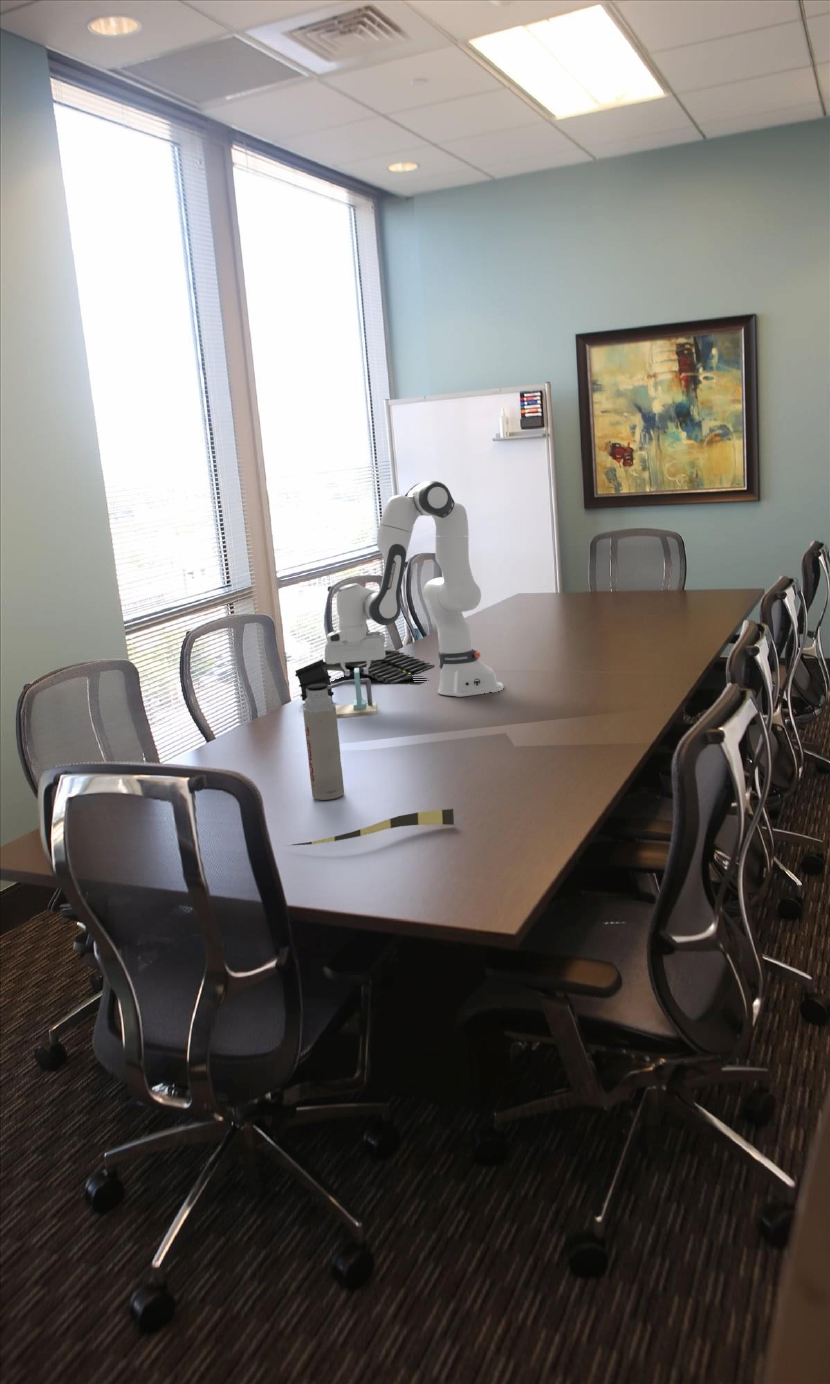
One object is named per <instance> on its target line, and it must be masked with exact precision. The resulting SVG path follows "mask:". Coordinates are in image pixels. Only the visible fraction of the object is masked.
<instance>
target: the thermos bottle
mask: <svg viewBox="0 0 830 1384" xmlns="http://www.w3.org/2000/svg"><path fill="white" fill-rule="evenodd" d="M327 688H328V686H327V684H313V685H309V686H308V687H307V689H308V698H307V699H305V701H304V705H305V707H303V709H302V711H303V722H304V728H305V729H304V731H305V740H306V741H305V742H306V750H307V755H308V756H307V758H308V768H309V769H308V770H309V779H310V787H311V796H312V798H313V799H316V800H323V801H324V800H334V799H337V798H340V797H342V796H343V795H345V786H344V777H343V776H344V775H343V767H342V761H341V760H342V759H341V747H340V737H339V727H338V718H337V715H336V706H337V705H335V704H333V703H334V701H333V696H332V697H331V696H329V695H328V691H327Z"/></svg>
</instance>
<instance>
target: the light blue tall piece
mask: <svg viewBox="0 0 830 1384" xmlns="http://www.w3.org/2000/svg"><path fill="white" fill-rule="evenodd" d="M353 675H354V679H353V680H355V683H354V688H355V697H356V698H353V703H352V704H353V708H354V710H357V709H366V703H367V701H366V700H367V698H366V697H362V687H361V685H362V684H361V683H360V682H359V679H361V677H360V672H359V668H354V671H353Z"/></svg>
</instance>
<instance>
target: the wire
mask: <svg viewBox="0 0 830 1384" xmlns="http://www.w3.org/2000/svg"><path fill="white" fill-rule="evenodd" d="M359 682H360V684H361V683H365V687H366V689H365V690H366V700H367V701H366V702H367V703H368V705H369V706H370V705H373V703H372V702H373V695H372V682H371V679H370V678H368V677H367V678H360V679H359ZM349 684H350V685H351V684H355V679H348V680H346V679H345V680H342V681H339V682H335V683H332V684H331V685H328V688H327V689H335V688H338V687H341V686H344V685H349ZM306 694H307V698H308V689H306Z"/></svg>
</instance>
